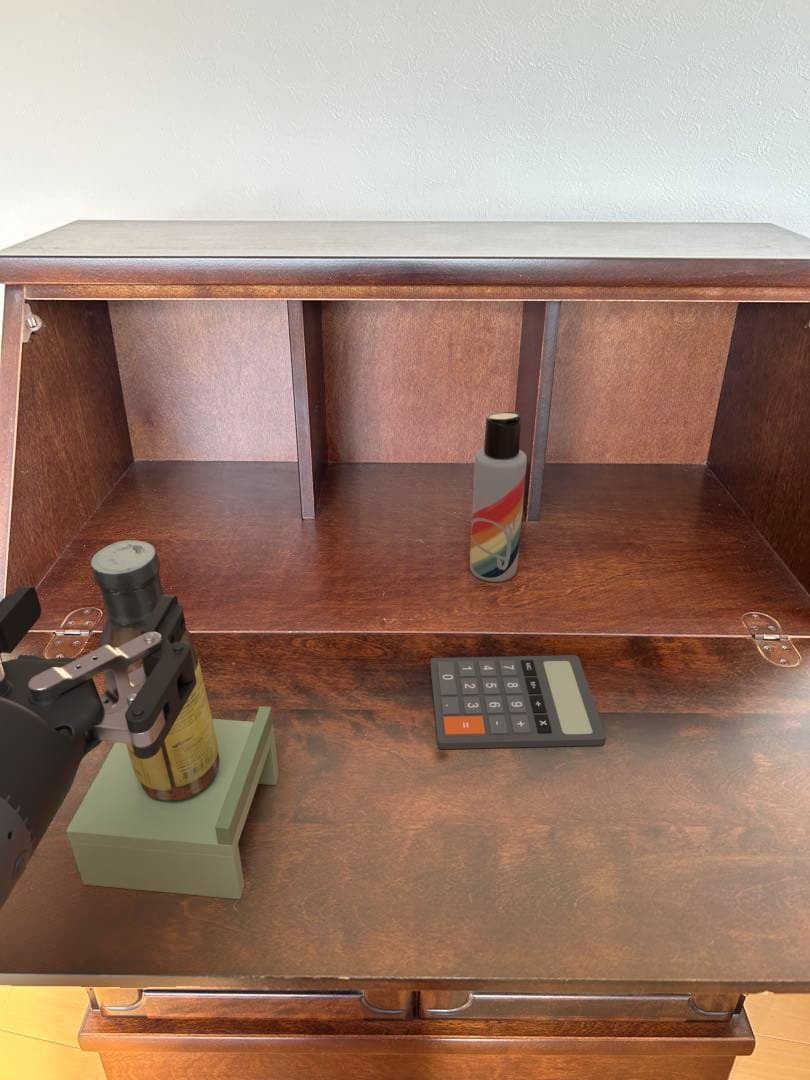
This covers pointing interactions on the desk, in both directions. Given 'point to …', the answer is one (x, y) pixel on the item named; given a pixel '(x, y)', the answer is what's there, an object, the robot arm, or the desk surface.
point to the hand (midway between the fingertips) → (102, 602)
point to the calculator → (513, 702)
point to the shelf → (175, 820)
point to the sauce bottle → (129, 603)
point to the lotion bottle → (498, 499)
